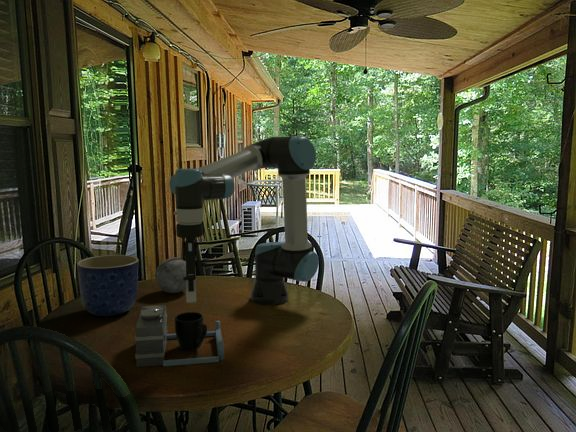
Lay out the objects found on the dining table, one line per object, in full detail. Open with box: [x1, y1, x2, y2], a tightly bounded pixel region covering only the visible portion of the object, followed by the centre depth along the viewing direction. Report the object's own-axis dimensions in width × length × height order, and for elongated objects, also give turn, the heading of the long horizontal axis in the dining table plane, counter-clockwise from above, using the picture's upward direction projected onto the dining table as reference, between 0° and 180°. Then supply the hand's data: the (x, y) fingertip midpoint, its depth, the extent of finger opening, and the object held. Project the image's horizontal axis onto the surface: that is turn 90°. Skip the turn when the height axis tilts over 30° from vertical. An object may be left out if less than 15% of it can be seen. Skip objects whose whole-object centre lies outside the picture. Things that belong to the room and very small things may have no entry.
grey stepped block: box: [134, 304, 168, 368], centre depth 129 cm, size 7×18×13 cm, turn 12°
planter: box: [76, 254, 140, 317], centre depth 162 cm, size 21×21×19 cm
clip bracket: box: [162, 320, 225, 367], centre depth 132 cm, size 16×20×5 cm
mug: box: [174, 311, 208, 352], centre depth 132 cm, size 8×12×10 cm
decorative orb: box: [154, 257, 186, 294], centre depth 186 cm, size 15×14×15 cm
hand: (191, 294), depth 130 cm, fingers open, 13 cm apart
